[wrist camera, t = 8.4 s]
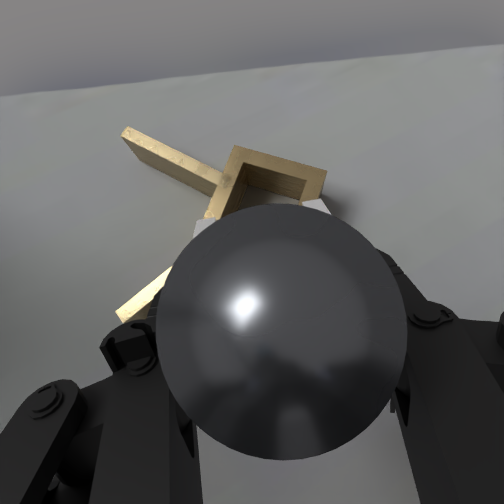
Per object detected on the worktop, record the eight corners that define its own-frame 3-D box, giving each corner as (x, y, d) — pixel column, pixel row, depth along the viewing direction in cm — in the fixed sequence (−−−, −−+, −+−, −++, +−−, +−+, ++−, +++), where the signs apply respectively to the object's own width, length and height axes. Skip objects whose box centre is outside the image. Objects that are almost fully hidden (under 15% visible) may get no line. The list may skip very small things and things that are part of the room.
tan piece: (72, 296, 33) (40, 289, 28) (148, 142, 37) (130, 116, 32) (260, 371, 29) (256, 376, 25) (321, 193, 33) (327, 170, 29)
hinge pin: (232, 357, 16) (114, 393, 5) (258, 289, 17) (212, 175, 5) (302, 387, 16) (363, 510, 4) (326, 314, 16) (435, 247, 5)
